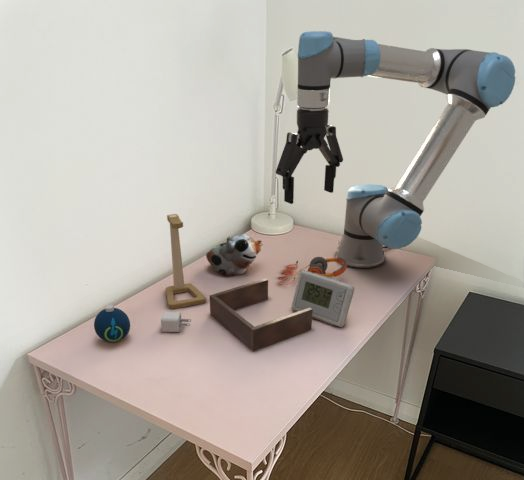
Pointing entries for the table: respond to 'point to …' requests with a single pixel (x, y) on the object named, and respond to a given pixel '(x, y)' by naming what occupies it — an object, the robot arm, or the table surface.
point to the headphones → (318, 267)
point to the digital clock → (323, 297)
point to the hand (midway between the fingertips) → (309, 196)
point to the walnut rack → (245, 331)
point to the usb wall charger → (172, 322)
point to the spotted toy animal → (234, 254)
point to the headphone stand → (179, 270)
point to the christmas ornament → (112, 324)
